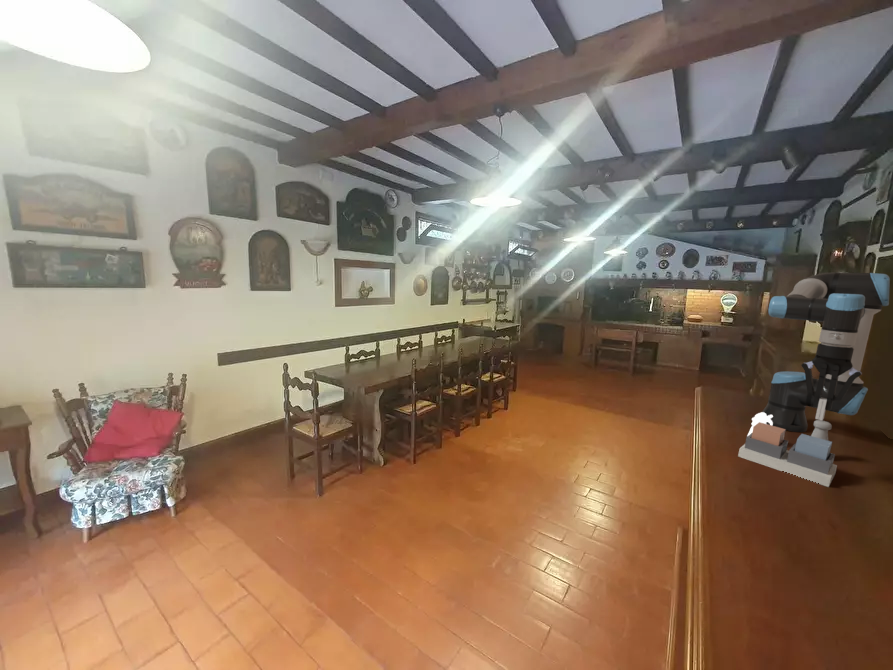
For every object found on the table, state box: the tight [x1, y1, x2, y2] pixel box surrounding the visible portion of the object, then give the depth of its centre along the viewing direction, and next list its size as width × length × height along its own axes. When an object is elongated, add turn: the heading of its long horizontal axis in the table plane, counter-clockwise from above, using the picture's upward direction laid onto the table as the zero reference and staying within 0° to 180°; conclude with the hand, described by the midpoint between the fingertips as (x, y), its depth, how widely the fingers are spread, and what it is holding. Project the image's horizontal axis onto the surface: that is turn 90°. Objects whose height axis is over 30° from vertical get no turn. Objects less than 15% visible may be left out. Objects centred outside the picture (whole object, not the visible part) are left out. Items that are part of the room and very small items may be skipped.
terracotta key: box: [751, 422, 787, 446], centre depth 124 cm, size 7×7×5 cm
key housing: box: [737, 433, 838, 488], centre depth 121 cm, size 13×22×7 cm, turn 37°
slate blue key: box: [795, 433, 833, 460], centre depth 115 cm, size 7×7×5 cm
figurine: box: [746, 411, 773, 437], centre depth 136 cm, size 7×7×12 cm
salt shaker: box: [810, 419, 833, 441], centre depth 127 cm, size 6×6×13 cm
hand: (819, 418), depth 114 cm, fingers closed
